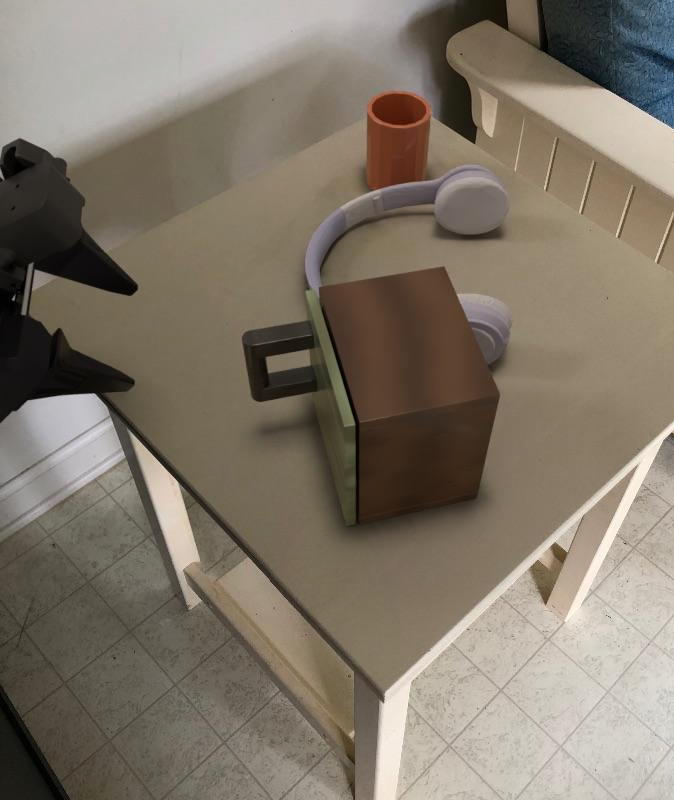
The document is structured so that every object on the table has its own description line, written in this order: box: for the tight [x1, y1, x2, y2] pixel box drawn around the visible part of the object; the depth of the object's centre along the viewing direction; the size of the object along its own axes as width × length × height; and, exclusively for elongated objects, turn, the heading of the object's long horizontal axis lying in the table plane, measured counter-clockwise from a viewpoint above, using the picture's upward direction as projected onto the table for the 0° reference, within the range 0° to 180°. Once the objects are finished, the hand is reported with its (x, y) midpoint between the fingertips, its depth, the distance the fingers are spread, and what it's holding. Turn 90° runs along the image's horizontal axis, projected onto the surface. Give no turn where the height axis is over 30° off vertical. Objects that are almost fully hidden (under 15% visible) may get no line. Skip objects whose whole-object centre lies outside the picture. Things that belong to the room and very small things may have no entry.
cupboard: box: [319, 266, 501, 525], centre depth 65 cm, size 10×13×14 cm
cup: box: [365, 90, 432, 192], centre depth 89 cm, size 7×7×9 cm
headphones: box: [304, 164, 513, 366], centre depth 80 cm, size 22×7×20 cm
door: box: [241, 289, 357, 527], centre depth 64 cm, size 6×13×14 cm, turn 15°
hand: (133, 336), depth 59 cm, fingers open, 9 cm apart
